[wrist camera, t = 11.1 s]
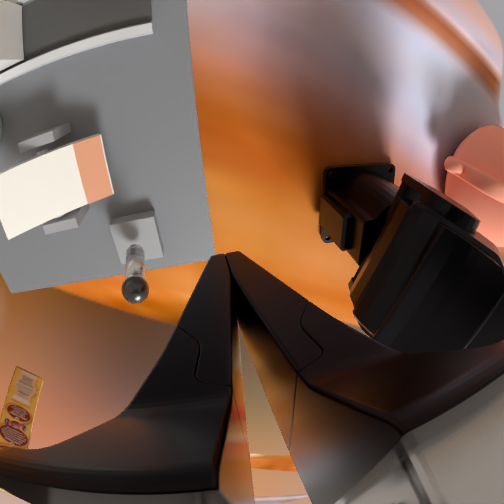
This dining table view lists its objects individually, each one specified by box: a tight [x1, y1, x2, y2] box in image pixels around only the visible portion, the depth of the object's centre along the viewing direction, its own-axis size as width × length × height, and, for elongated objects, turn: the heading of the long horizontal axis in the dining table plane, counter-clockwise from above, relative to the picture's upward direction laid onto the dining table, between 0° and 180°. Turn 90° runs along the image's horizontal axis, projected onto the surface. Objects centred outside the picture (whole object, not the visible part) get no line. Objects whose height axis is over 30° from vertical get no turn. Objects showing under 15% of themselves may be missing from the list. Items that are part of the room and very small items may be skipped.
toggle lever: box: [122, 244, 149, 304], centre depth 17 cm, size 2×2×4 cm
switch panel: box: [0, 0, 216, 293], centre depth 14 cm, size 18×23×5 cm
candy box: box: [0, 366, 43, 493], centre depth 22 cm, size 9×4×15 cm, turn 142°
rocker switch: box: [0, 134, 114, 240], centre depth 14 cm, size 7×4×1 cm, turn 94°
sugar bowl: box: [444, 125, 504, 247], centre depth 21 cm, size 12×14×10 cm
